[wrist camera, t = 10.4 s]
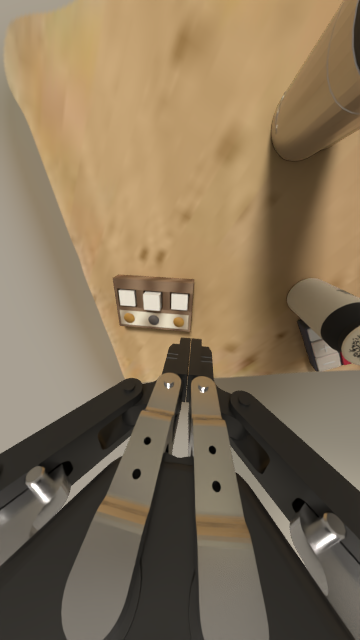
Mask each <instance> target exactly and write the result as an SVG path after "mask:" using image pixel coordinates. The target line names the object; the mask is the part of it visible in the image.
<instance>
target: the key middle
mask: <svg viewBox="0 0 360 640" xmlns="http://www.w3.org/2000/svg"><path fill="white" fill-rule="evenodd" d="M143 303H144V310H154V311H160V309H161V307H162V292H158V291H145V293H144V294H143Z"/></svg>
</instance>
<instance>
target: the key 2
mask: <svg viewBox="0 0 360 640" xmlns="http://www.w3.org/2000/svg"><path fill="white" fill-rule="evenodd" d="M188 295H189V294H188V293H174V292H172V294H171V309H175V310H187V308H188Z"/></svg>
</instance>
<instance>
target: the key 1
mask: <svg viewBox="0 0 360 640" xmlns="http://www.w3.org/2000/svg"><path fill="white" fill-rule="evenodd" d="M118 291H119V298H120V305H124V306H136V305H137V296H136V290H132V289H120V290H118Z"/></svg>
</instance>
